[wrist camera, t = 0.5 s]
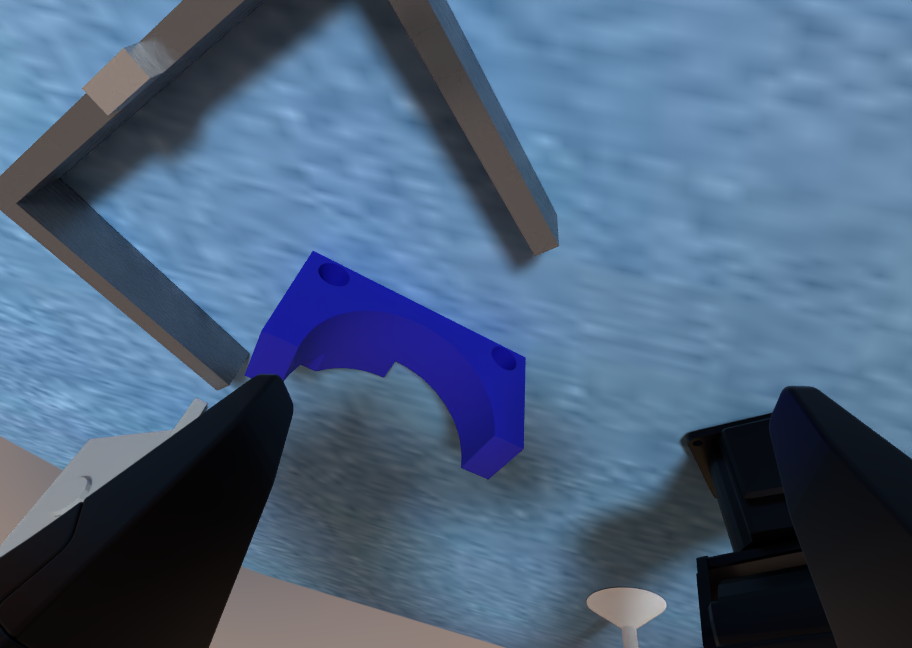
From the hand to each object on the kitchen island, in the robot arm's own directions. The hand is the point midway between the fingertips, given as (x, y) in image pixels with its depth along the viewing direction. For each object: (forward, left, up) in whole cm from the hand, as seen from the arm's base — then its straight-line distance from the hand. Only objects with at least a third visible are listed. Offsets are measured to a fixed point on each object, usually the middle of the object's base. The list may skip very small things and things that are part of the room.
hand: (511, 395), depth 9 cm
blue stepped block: (-6, +10, -14) cm, 18 cm away
